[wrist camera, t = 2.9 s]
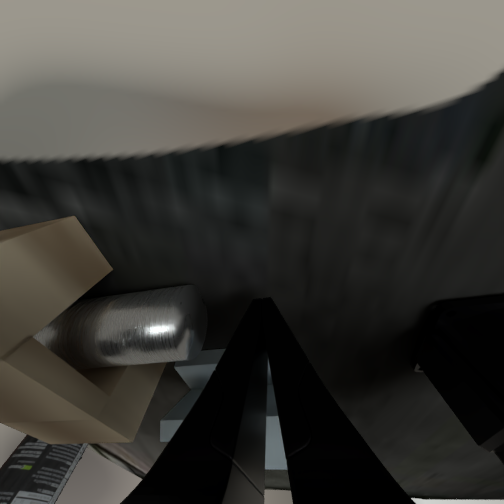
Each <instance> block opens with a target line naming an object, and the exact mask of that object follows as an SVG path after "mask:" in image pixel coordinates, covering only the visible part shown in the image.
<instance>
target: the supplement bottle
mask: <svg viewBox="0 0 504 504" xmlns="http://www.w3.org/2000/svg"><path fill="white" fill-rule="evenodd" d="M88 444H89V443H82V444H48V443H46V442H44V441H41V440H39V439H37V438H34V437H32V436H30V435H28V434H27V435H26V437H25V438H24V439H23V440H22V442H21V443H20V444H19V445H18V447H17V448H16V449H15V451H14V452H13V453H12V454H11V455H10V457H9V458H8V459H7V461H6V462H5V463H4V464H3V466H2V467H1V468H0V504H55V502H56V501H57V499H58V497H59V495H60V494H61V491H62V490H63V488H64V485H66V483H67V481H68V479H69V477H70V475H71V474H72V472H73V470H74V469H75V467H76V465H77V463H78V461H79V460H80V459H81V458H82V457H81V456H82V455H83V453H84V451H85V449H86V447H87V445H88Z"/></svg>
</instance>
